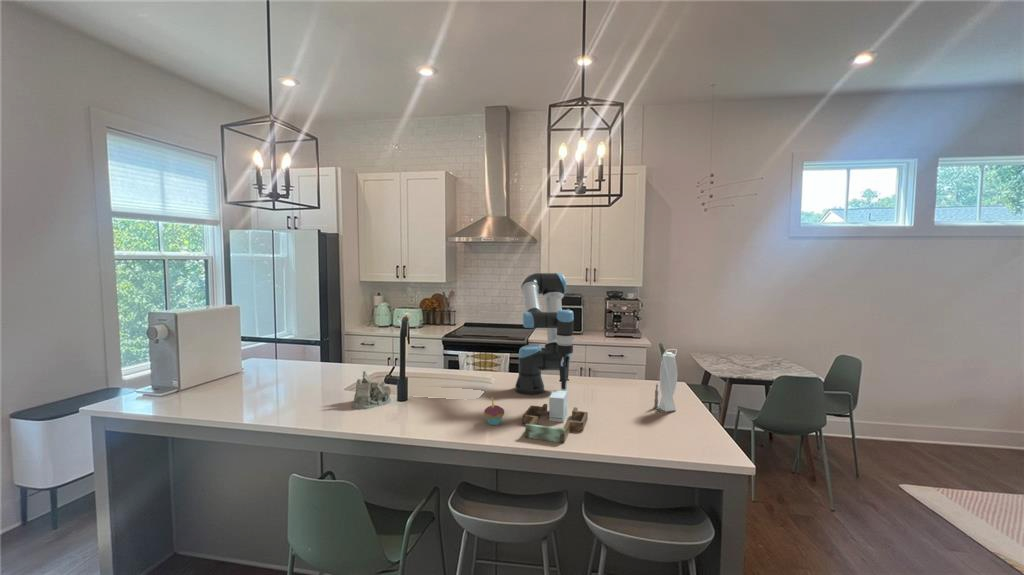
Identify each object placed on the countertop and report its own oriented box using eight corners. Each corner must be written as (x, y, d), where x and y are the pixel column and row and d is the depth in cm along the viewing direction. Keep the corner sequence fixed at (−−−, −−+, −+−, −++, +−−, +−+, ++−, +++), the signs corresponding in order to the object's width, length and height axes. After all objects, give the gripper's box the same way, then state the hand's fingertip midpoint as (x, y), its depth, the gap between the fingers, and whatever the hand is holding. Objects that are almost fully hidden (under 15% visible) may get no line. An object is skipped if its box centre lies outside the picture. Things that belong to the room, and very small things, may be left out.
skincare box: (552, 412, 192) (553, 389, 192) (567, 414, 191) (567, 390, 190) (548, 421, 182) (548, 396, 181) (563, 422, 180) (564, 398, 180)
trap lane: (512, 435, 166) (513, 423, 166) (533, 410, 195) (533, 399, 195) (577, 445, 159) (577, 431, 158) (588, 416, 187) (589, 405, 187)
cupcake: (499, 428, 174) (499, 399, 173) (480, 425, 177) (480, 396, 176) (507, 420, 182) (507, 392, 181) (488, 417, 185) (488, 390, 184)
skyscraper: (668, 405, 202) (670, 346, 200) (680, 411, 195) (682, 350, 193) (653, 407, 200) (655, 347, 198) (664, 413, 192) (666, 351, 190)
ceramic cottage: (346, 408, 195) (348, 375, 194) (364, 398, 211) (366, 367, 210) (379, 412, 192) (381, 379, 192) (394, 402, 209) (396, 371, 208)
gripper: (570, 347, 188) (569, 400, 190) (575, 342, 201) (574, 392, 202) (553, 346, 191) (552, 398, 192) (559, 341, 203) (558, 390, 204)
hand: (563, 395), depth 197 cm, fingers closed
